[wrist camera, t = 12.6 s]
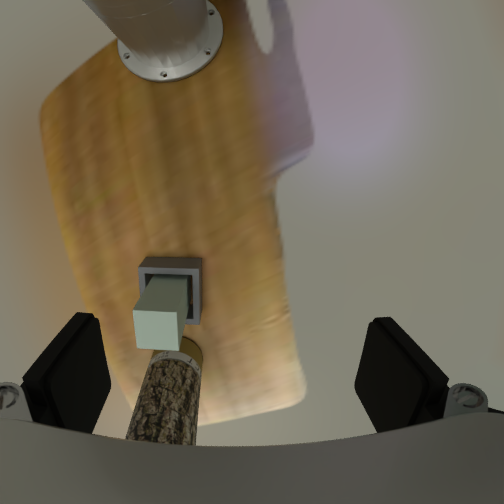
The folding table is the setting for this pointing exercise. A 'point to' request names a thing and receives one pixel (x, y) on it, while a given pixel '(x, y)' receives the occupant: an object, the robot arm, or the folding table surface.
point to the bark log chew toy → (169, 397)
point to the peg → (162, 312)
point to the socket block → (176, 267)
